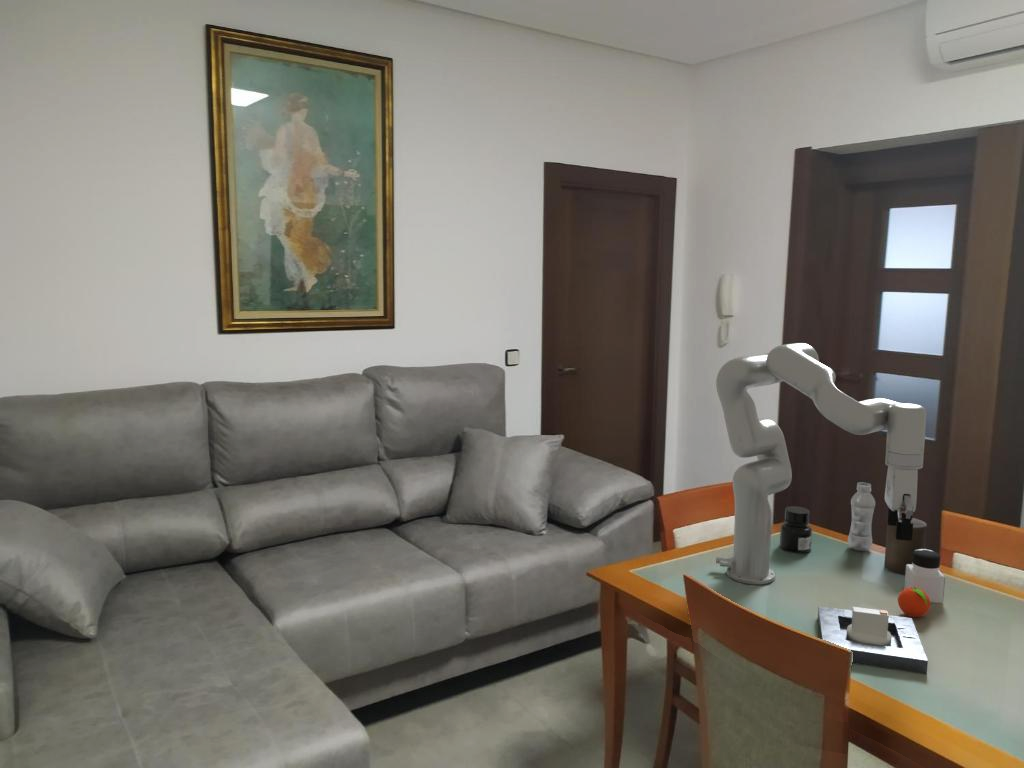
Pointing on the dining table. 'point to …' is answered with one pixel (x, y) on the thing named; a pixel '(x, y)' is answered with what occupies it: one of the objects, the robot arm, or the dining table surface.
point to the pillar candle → (903, 547)
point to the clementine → (914, 602)
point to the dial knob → (869, 627)
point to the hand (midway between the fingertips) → (899, 532)
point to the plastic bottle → (861, 518)
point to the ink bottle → (796, 530)
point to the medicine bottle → (926, 574)
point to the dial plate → (897, 656)
